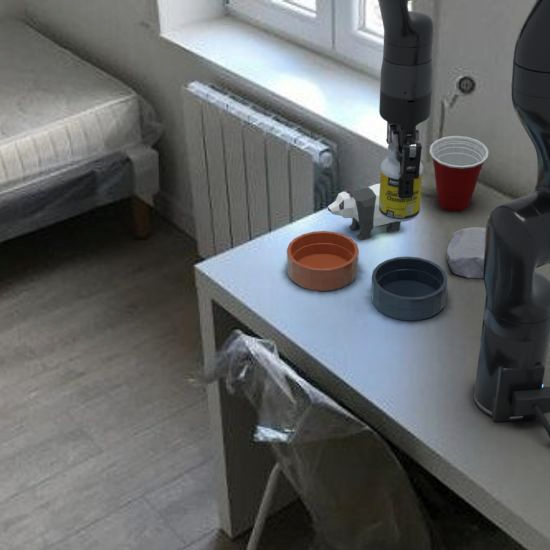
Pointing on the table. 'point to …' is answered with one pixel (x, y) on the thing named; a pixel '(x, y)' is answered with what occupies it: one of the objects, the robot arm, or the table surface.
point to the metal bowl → (409, 288)
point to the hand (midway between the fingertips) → (400, 185)
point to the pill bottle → (389, 197)
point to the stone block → (467, 252)
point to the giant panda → (362, 211)
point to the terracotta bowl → (322, 260)
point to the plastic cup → (457, 170)
